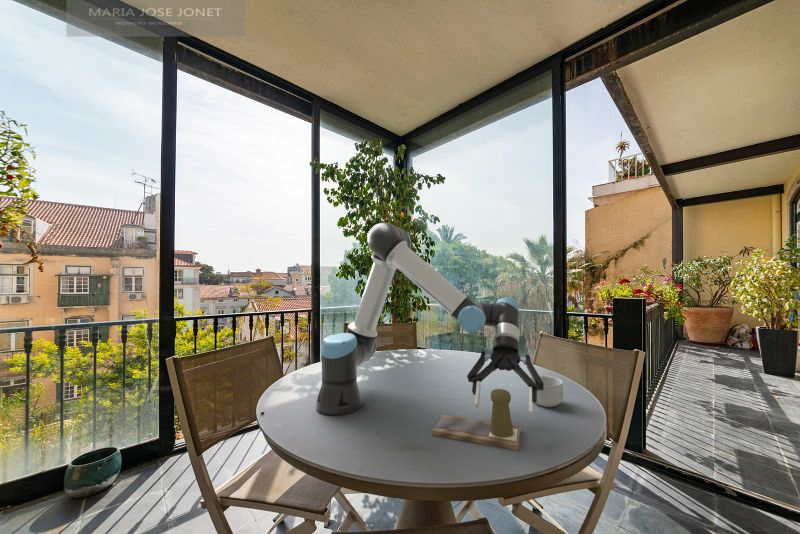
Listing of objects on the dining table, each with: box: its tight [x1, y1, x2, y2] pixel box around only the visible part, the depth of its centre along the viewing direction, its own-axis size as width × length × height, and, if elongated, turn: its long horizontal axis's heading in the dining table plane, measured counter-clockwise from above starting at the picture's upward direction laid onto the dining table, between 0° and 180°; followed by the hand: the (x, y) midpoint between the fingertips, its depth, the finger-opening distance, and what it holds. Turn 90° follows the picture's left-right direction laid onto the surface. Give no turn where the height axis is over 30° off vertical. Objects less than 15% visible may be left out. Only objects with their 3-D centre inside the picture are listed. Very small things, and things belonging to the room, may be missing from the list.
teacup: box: [529, 375, 564, 408], centre depth 109 cm, size 14×11×8 cm
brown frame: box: [432, 414, 521, 451], centre depth 88 cm, size 22×11×1 cm, turn 68°
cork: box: [490, 388, 513, 438], centre depth 86 cm, size 6×6×11 cm
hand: (502, 409), depth 84 cm, fingers open, 13 cm apart
